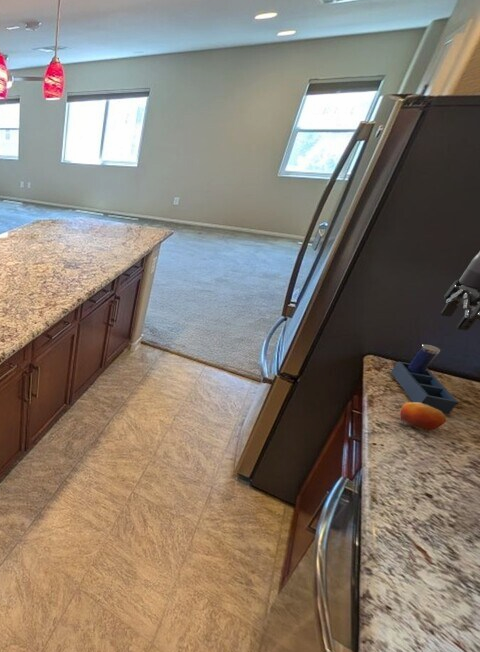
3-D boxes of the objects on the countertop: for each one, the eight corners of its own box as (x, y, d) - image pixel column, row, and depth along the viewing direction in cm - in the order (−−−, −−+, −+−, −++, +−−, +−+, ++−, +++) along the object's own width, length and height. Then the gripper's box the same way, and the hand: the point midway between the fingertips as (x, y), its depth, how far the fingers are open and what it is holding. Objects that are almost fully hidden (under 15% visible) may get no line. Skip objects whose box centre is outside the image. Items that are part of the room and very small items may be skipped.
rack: (417, 377, 124) (425, 366, 121) (448, 414, 110) (458, 402, 107) (390, 372, 126) (397, 361, 124) (417, 407, 112) (426, 396, 110)
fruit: (396, 423, 105) (411, 398, 104) (390, 422, 111) (405, 397, 110) (439, 440, 100) (455, 413, 99) (431, 437, 106) (446, 412, 105)
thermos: (414, 376, 123) (436, 346, 117) (420, 383, 120) (443, 352, 114) (398, 373, 124) (419, 343, 118) (404, 380, 121) (426, 349, 115)
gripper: (528, 282, 95) (486, 337, 104) (492, 262, 106) (457, 313, 115) (486, 278, 98) (448, 331, 106) (455, 259, 109) (423, 309, 117)
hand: (453, 322), depth 110 cm, fingers open, 8 cm apart
